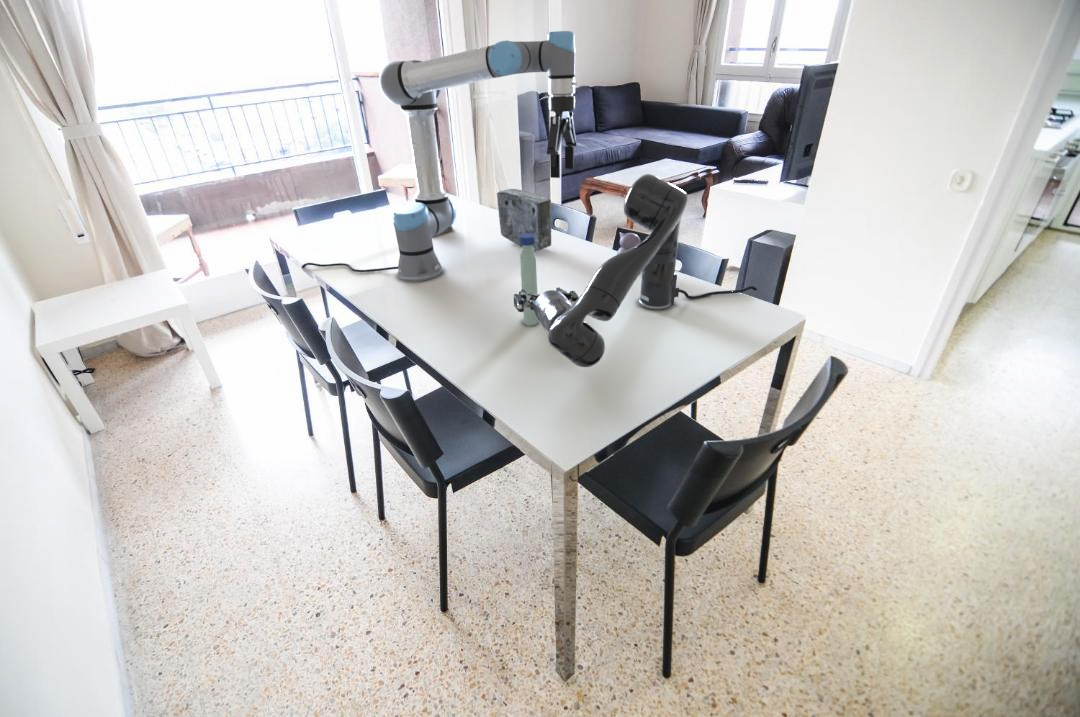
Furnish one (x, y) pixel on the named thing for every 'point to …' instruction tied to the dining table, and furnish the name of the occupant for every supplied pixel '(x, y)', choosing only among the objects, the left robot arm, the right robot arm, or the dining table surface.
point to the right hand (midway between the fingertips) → (540, 292)
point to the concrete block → (525, 216)
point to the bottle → (529, 280)
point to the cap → (527, 239)
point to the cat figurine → (628, 241)
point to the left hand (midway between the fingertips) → (562, 173)
